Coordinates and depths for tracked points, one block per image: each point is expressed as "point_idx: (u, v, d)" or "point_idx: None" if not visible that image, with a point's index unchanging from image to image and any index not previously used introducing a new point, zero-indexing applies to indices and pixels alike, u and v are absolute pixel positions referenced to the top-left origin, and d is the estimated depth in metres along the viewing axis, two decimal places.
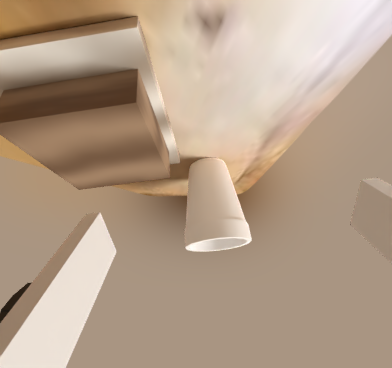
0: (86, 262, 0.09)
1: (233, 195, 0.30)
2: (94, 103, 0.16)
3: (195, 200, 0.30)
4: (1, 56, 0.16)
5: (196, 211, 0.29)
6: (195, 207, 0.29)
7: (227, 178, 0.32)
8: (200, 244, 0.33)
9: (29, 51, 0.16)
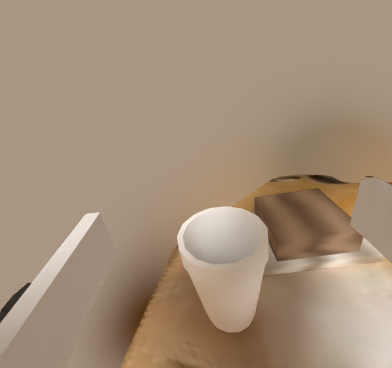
0: (86, 262, 0.09)
1: (255, 294, 0.22)
2: None
3: None
4: None
5: None
6: None
7: (252, 308, 0.24)
8: (195, 226, 0.25)
9: None
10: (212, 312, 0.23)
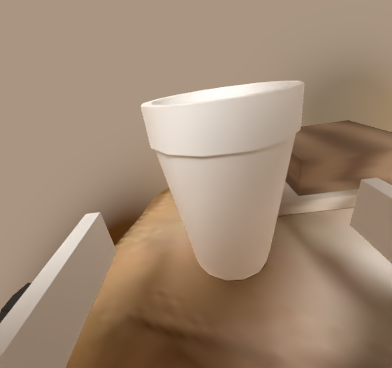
0: (86, 262, 0.09)
1: (274, 199, 0.13)
2: None
3: None
4: None
5: None
6: None
7: (267, 235, 0.14)
8: None
9: None
10: (201, 239, 0.14)
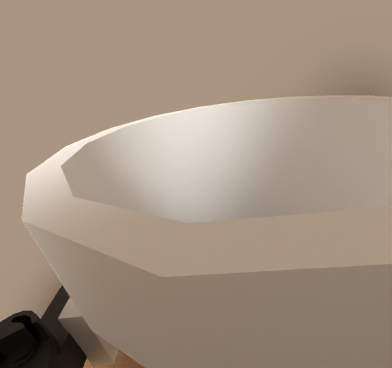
0: None
1: None
2: None
3: None
4: None
5: None
6: None
7: None
8: (153, 144, 0.09)
9: None
10: None
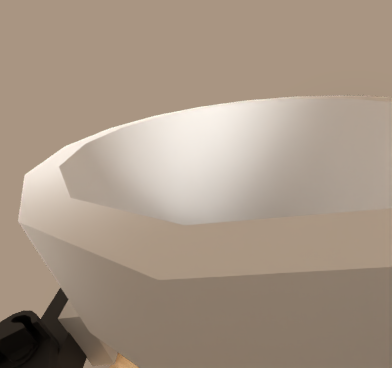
0: None
1: None
2: None
3: None
4: None
5: None
6: None
7: None
8: (153, 145, 0.08)
9: None
10: None
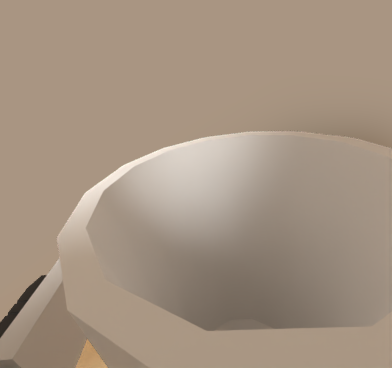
0: None
1: None
2: None
3: None
4: None
5: None
6: None
7: None
8: (162, 177, 0.09)
9: None
10: None
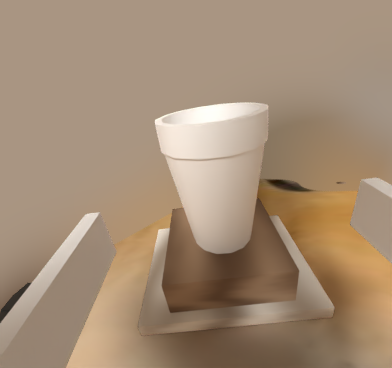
0: (86, 262, 0.09)
1: (250, 190, 0.17)
2: None
3: None
4: (283, 230, 0.28)
5: None
6: None
7: (247, 218, 0.19)
8: (180, 122, 0.21)
9: (290, 241, 0.26)
10: (197, 220, 0.19)
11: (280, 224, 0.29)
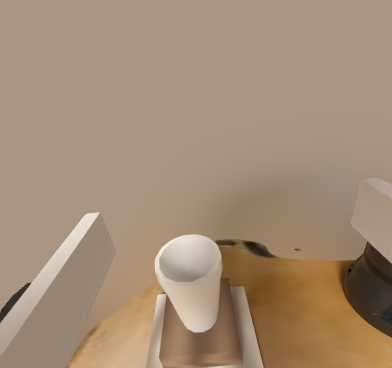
0: (86, 262, 0.09)
1: (211, 303, 0.29)
2: (237, 327, 0.33)
3: None
4: (245, 301, 0.40)
5: None
6: None
7: (212, 314, 0.31)
8: (171, 249, 0.32)
9: (248, 313, 0.38)
10: (181, 316, 0.31)
11: (244, 295, 0.41)
